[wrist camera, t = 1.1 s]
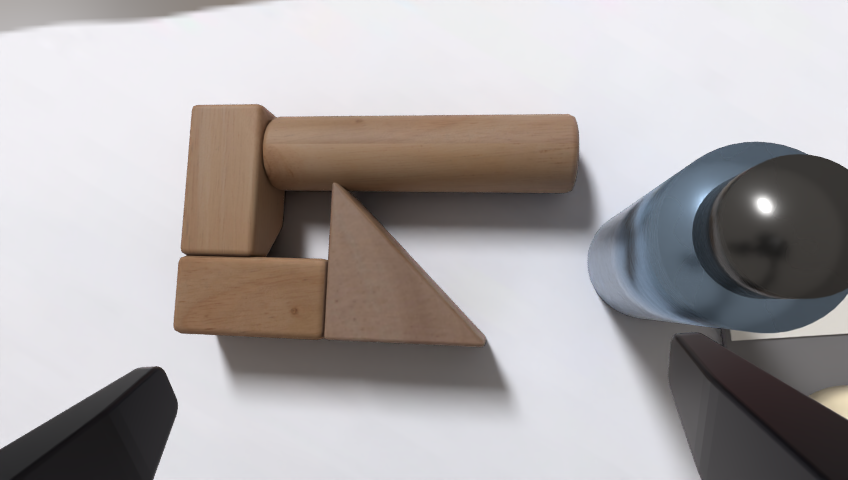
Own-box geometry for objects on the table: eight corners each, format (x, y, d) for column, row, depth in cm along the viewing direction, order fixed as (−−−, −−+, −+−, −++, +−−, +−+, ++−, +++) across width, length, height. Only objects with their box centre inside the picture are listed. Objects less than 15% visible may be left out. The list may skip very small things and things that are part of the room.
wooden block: (168, 333, 24) (579, 353, 22) (187, 102, 25) (581, 97, 23) (211, 328, 28) (567, 345, 25) (226, 127, 29) (568, 124, 26)
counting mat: (951, 524, 22) (961, 529, 22) (749, 529, 23) (755, 534, 23) (890, 198, 24) (898, 196, 24) (705, 215, 25) (709, 214, 25)
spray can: (709, 314, 25) (946, 331, 12) (594, 322, 25) (699, 346, 12) (694, 204, 25) (903, 104, 12) (581, 214, 26) (669, 130, 13)
